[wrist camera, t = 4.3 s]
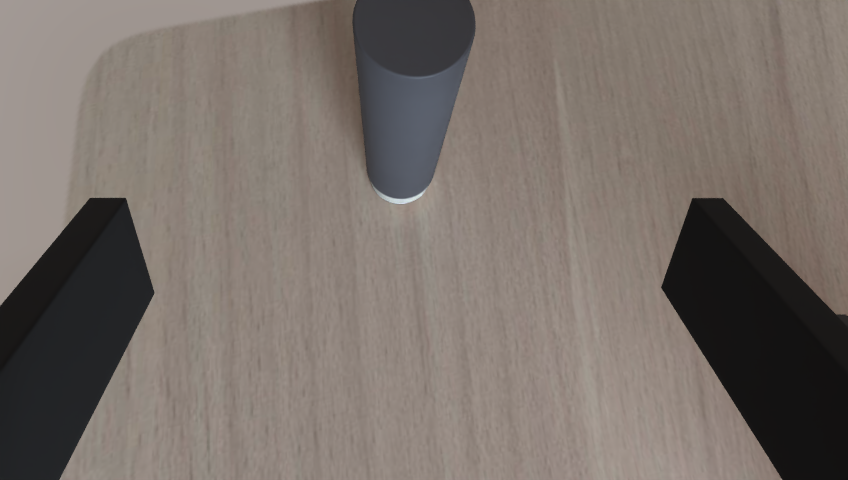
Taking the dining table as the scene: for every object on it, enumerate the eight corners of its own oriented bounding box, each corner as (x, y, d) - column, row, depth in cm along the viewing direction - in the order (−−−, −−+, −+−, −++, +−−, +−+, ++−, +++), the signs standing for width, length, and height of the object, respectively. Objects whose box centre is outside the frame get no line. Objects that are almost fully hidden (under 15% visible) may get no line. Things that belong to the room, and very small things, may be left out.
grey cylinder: (355, 188, 24) (329, 42, 13) (386, 133, 25) (388, -55, 13) (413, 217, 24) (442, 99, 13) (443, 162, 25) (496, -2, 13)
